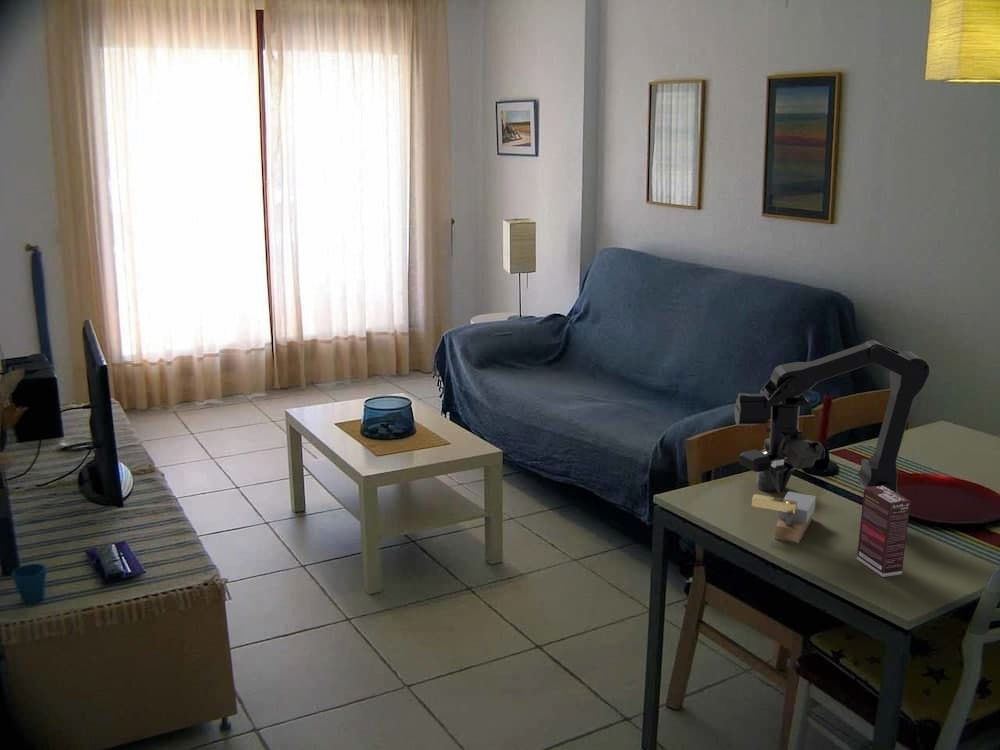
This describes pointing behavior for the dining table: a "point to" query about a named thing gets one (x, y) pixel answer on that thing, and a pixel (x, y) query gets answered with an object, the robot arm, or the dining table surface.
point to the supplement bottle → (765, 476)
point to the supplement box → (883, 530)
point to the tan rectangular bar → (774, 503)
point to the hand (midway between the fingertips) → (779, 492)
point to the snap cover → (800, 507)
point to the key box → (791, 529)
